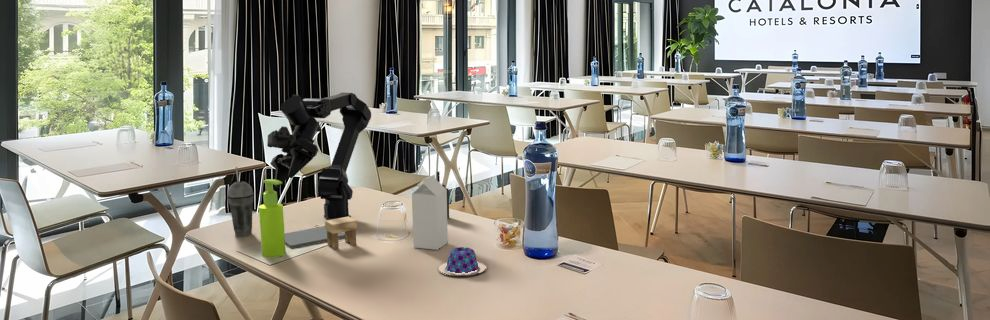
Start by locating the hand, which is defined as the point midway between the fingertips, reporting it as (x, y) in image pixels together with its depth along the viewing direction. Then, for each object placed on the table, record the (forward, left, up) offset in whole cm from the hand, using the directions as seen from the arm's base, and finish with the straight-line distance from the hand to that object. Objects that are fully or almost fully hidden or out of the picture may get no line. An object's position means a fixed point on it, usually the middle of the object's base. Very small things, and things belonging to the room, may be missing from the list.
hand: (282, 182), depth 189 cm
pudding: (-26, +47, -18) cm, 57 cm away
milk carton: (-30, +26, -17) cm, 44 cm away
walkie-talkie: (-47, +5, -17) cm, 50 cm away
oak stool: (-11, +11, -17) cm, 23 cm away
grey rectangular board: (-7, -1, -17) cm, 19 cm away
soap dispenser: (+6, +8, -17) cm, 20 cm away
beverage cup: (+7, -16, -17) cm, 24 cm away
